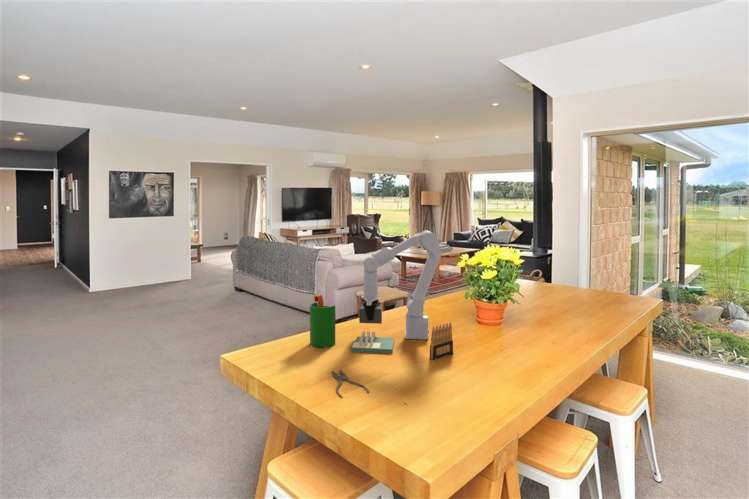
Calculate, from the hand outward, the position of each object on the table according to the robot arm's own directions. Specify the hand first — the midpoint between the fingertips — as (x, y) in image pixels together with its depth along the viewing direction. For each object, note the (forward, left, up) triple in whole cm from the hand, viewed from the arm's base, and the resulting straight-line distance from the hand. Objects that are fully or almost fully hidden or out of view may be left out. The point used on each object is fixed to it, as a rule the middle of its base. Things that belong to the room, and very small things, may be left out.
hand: (370, 318), depth 189 cm
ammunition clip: (-28, +20, -8) cm, 35 cm away
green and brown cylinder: (+18, +11, -8) cm, 23 cm away
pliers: (+4, +48, -8) cm, 49 cm away
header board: (-2, +12, -8) cm, 14 cm away
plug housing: (0, 0, -1) cm, 1 cm away
